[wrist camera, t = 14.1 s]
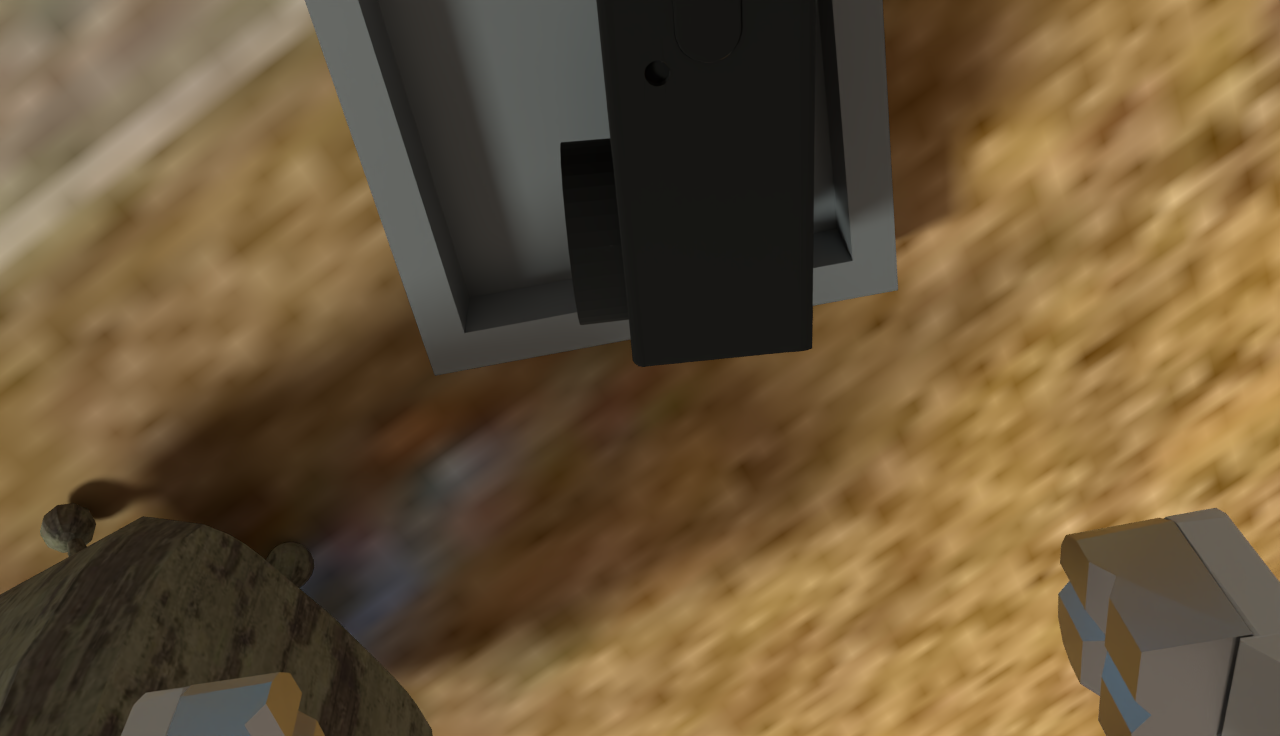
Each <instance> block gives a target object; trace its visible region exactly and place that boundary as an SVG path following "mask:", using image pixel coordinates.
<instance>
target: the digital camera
mask: <svg viewBox="0 0 1280 736" xmlns="http://www.w3.org/2000/svg"><path fill="white" fill-rule="evenodd" d="M596 3H597V13H598V23H599V33H600V43H601V53H602V63H603V72H604V82H605V92H606V102H607V112H608V122H609V132H610V138H608V139H595V140H583V141H571V142H561V144H560V156H561V174H562V189H563V200H564V211H565V222H566V231H567V241H568V251H569V258H570V266H571V274H572V282H573V289H574V296H575V303H576V309H577V315H578V319H579V323H580V325H587V324H596V323H604V322H613V321H621V320H629V327H630V337H631V347H632V357H633V361H634V363H635V364H636V365H638V366H641V367H645V366H655V365H665V364H675V363H684V362H694V361H704V360H714V359H724V358H734V357H744V356H754V355H764V354H774V353H784V352H796V351H805V350H808V349H811V348H812V320H813V237H814V136H815V23H816V0H596Z"/></svg>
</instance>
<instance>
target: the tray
mask: <svg viewBox="0 0 1280 736" xmlns="http://www.w3.org/2000/svg"><path fill="white" fill-rule="evenodd" d="M305 2H306V5H307V8H308V11H309V14H310V17H311V19H312V22H313V25H314V28H315V31H316V34H317V37H318V40H319V43H320V45H321V48H322V51H323V54H324V57H325V60H326V63H327V66H328V69H329V71H330V74H331V77H332V80H333V83H334V86H335V89H336V92H337V95H338V97H339V100H340V103H341V106H342V109H343V112H344V115H345V118H346V121H347V123H348V126H349V129H350V132H351V135H352V138H353V141H354V144H355V147H356V149H357V152H358V155H359V158H360V161H361V164H362V167H363V170H364V173H365V175H366V178H367V181H368V184H369V187H370V190H371V193H372V196H373V199H374V201H375V204H376V207H377V210H378V213H379V216H380V219H381V222H382V224H383V227H384V230H385V233H386V236H387V239H388V242H389V245H390V248H391V250H392V253H393V256H394V259H395V262H396V265H397V268H398V271H399V274H400V276H401V279H402V282H403V285H404V288H405V291H406V294H407V297H408V300H409V302H410V305H411V308H412V311H413V314H414V317H415V320H416V323H417V326H418V328H419V331H420V334H421V337H422V340H423V343H424V346H425V349H426V352H427V354H428V357H429V360H430V363H431V366H432V369H433V372H434V375H441V374H446V373H451V372H457V371H462V370H468V369H473V368H478V367H484V366H489V365H495V364H500V363H506V362H511V361H516V360H522V359H527V358H533V357H538V356H543V355H549V354H554V353H560V352H565V351H571V350H576V349H581V348H587V347H592V346H598V345H603V344H608V343H614V342H619V341H625V340H630V339H631V337H630V327H629V320H621V321H613V322H604V323H596V324H587V325H580V323H579V319H578V315H577V309H576V303H575V296H574V289H573V282H572V274H571V266H570V258H569V251H568V241H567V231H566V222H565V211H564V200H563V189H562V174H561V156H560V144H561V142H571V141H583V140H595V139H608V138H610V132H609V122H608V112H607V102H606V92H605V82H604V72H603V63H602V53H601V43H600V33H599V23H598V13H597V3H596V0H305ZM895 290H898V281H897V263H896V244H895V225H894V206H893V187H892V169H891V150H890V131H889V112H888V93H887V75H886V56H885V37H884V18H883V0H816V23H815V136H814V237H813V306H814V305H820V304H825V303H830V302H836V301H841V300H847V299H852V298H857V297H863V296H868V295H874V294H879V293H885V292H890V291H895Z"/></svg>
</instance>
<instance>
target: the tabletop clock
mask: <svg viewBox="0 0 1280 736" xmlns="http://www.w3.org/2000/svg"><path fill="white" fill-rule="evenodd" d="M95 526H96V522H95V520H94V518H93V517H92V515H91V513H90V511H89V510H88V509H87V508H84V507H82V506H80V505H77V504H75V503H71V504H64V505H57V506H56V507H55V508H53V509H52V510H51V511H49V512H48V513H47V514H46V515H45V516H44V518H43V522H42V526H41V530H40V534H41V536H42V538H43V539H44V541H45V543H46V544H47V546H48V547H49V548H52V549H55V550H57V551H60V552H62V553H65V552H68V556H69V557H68V558H66V559H64V560H63V561H61V562H59V563H57V564H55V565H53V566H52V567H50V568H48V569H46V570H44V571H43V572H41V573H39V574H37V575H35V576H33V577H32V578H30V579H28V580H26V581H24V582H22V583H21V584H19V585H17V586H15V587H13V588H12V589H10V590H8V591H6V592H4V593H2V594H1V595H0V736H121V734H122V732H123V729H124V727H125V724H126V722H127V719H128V717H129V714H130V712H131V710H132V707H133V706H134V704H135V703H136V702H137V701H138V700H139V699H140V698H141V697H142V696H143V695H144V694H145V693H147V692H154V691H161V690H168V689H174V688H181V687H188V686H191V685H196V684H203V683H210V682H216V681H223V680H230V679H237V678H244V677H250V676H257V675H264V674H271V673H278V672H284V673H290V674H291V675H292V677H293V679H294V680H295V682H296V684H297V685H298V687H299V689H300V690H301V692H302V696H301V701H300V705H299V709H298V711H300V712H302V713H304V714H306V715H308V716H310V717H312V718H313V719H315V720H317V721H318V723H319V725H320V727H321V729H322V731H323V733H324V735H325V736H433V735H432V729H431V727H430V726H429V724H428V722H427V721H426V719H425V717H424V716H423V714H422V712H421V711H420V709H419V708H418V706H417V704H416V703H415V702H414V700H413V699H412V698H411V696H410V695H409V694H408V693H407V691H406V690H405V689H404V688H403V687H402V686H401V685H400V684H399V682H398V681H397V680H396V679H395V678H394V677H393V676H392V675H391V674H390V673H389V672H388V671H387V670H386V669H385V668H384V667H383V666H382V665H381V664H380V663H379V662H378V661H377V660H376V659H375V658H374V657H373V656H372V655H371V654H370V653H369V652H368V651H367V650H366V649H365V648H364V647H363V646H362V645H361V644H360V643H359V642H358V641H357V640H356V639H355V638H354V637H353V636H352V635H351V634H350V633H349V632H348V631H347V630H346V629H345V628H343V627H342V626H341V625H340V624H339V623H338V622H337V621H336V620H335V619H334V618H333V617H332V616H331V615H330V614H329V613H328V612H327V611H325V610H324V609H323V608H322V607H321V606H319V605H318V604H317V603H316V602H315V601H314V600H312V599H311V598H310V597H309V596H308V595H306V594H305V593H304V592H303V591H302V590H300V589H299V588H300V587H301V586H302V585H304V584H305V583H306V582H307V581H308V579H309V578H310V576H311V575H312V572H313V569H314V560H313V557H312V555H311V553H310V552H309V551H308V550H307V548H305V547H304V546H303V545H300V544H298V543H295V542H287V543H283V544H280V545H278V546H277V547H275V548H274V549H273V550H272V551H271V553H270V554H269V556H268V557H267V559H266V560H265V559H264V558H262V557H261V556H260V555H259V554H257V553H256V552H255V551H254V550H252V549H251V548H250V547H248V546H247V545H246V544H244V543H243V542H241V541H239V540H237V539H236V538H234V537H232V536H231V535H229V534H227V533H224V532H222V531H219V530H217V529H214V528H212V527H209V526H206V525H204V524H197V523H190V522H182V521H174V520H167V519H159V518H152V517H144V516H143V517H141V518H139V519H137V520H136V521H134V522H132V523H130V524H128V525H126V526H125V527H123V528H121V529H119V530H117V531H115V532H114V533H112V534H110V535H108V536H106V537H105V538H103V539H101V540H99V541H97V542H95V543H94V544H92V545H90V546H88V547H87V546H86V544H88V543H89V542H90V541H91V540H92V538H93V534H94V530H95Z"/></svg>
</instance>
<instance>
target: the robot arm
mask: <svg viewBox="0 0 1280 736" xmlns="http://www.w3.org/2000/svg"><path fill="white" fill-rule="evenodd" d="M1060 564H1061V565H1062V567H1063V569H1064V571H1065V573H1066V575H1067V577H1068V579H1069V582H1068V583H1067V585H1066V586H1065V587H1064V588H1063V589H1062V590H1061V591H1060V593H1059V594H1058V619H1059V624H1060V629H1061V635H1062V640H1063V644H1064V647H1065V650H1066V653H1067V655H1068V658H1069V661H1070V664H1071V666H1072V668H1073V670H1074V672H1075V674H1076V676H1077V678H1078V680H1079V682H1080V684H1082V685H1083V686H1085V687H1086V688H1088V689H1089V690H1091V691H1093V692H1094V693H1096V694H1097V695H1099V696H1100V704H1099V718H1098V720H1099V722H1100V724H1101V726H1102V728H1103V730H1104V732H1105V734H1106V736H1280V582H1279V581H1278V579H1277V578H1276V577H1275V576H1274V574H1273V573H1272V572H1271V570H1270V569H1269V568H1268V567H1267V565H1266V564H1265V563H1264V561H1263V560H1262V559H1261V558H1260V556H1259V555H1258V554H1257V552H1256V551H1255V550H1254V549H1253V547H1252V546H1251V545H1250V543H1249V542H1248V541H1247V540H1246V538H1245V537H1244V536H1243V534H1242V533H1241V532H1240V531H1239V529H1238V528H1237V527H1236V525H1235V524H1234V523H1233V522H1232V520H1231V519H1230V518H1229V516H1228V515H1227V514H1226V513H1224V512H1222V511H1221V510H1219V509H1217V508H1212V509H1207V510H1201V511H1195V512H1190V513H1184V514H1179V515H1173V516H1168V517H1165V518H1164V519H1163V518H1156V519H1150V520H1145V521H1139V522H1134V523H1129V524H1123V525H1118V526H1112V527H1107V528H1101V529H1096V530H1091V531H1085V532H1080V533H1074V534H1069V535H1066V536H1065V538H1064V540H1063V542H1062V544H1061V557H1060ZM301 696H302V692H301V690H300V689H299V687H298V685H297V684H296V682H295V680H294V679H293V677H292V675H291V674H290V673H284V672H278V673H271V674H264V675H257V676H250V677H244V678H237V679H230V680H223V681H216V682H210V683H203V684H196V685H191V686H188V687H181V688H174V689H168V690H161V691H154V692H147V693H145V694H144V695H143V696H142V697H141V698H140V699H139V700H138V701H137V702H136V703H135V704H134V706H133V707H132V710H131V712H130V714H129V717H128V719H127V722H126V724H125V727H124V729H123V732H122V734H121V736H325V735H324V733H323V731H322V729H321V727H320V725H319V723H318V721H317V720H315V719H313V718H312V717H310V716H308V715H306V714H304V713H302V712H300V711H298V709H299V705H300V701H301Z"/></svg>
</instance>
